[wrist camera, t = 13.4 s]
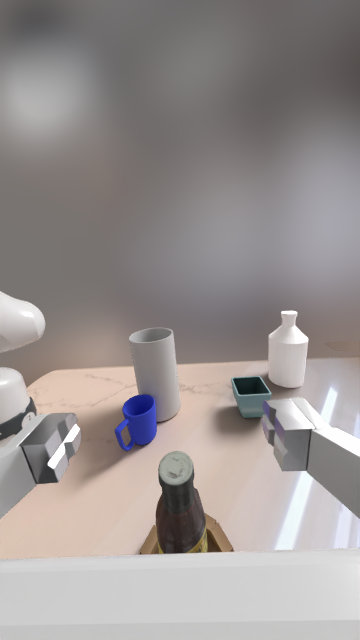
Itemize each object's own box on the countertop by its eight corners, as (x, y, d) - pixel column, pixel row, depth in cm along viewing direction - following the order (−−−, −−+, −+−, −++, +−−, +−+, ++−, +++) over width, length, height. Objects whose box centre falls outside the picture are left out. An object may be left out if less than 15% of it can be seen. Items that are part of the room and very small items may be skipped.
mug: (110, 455, 46) (102, 422, 43) (142, 420, 56) (137, 391, 53) (136, 470, 42) (129, 434, 39) (165, 429, 52) (161, 398, 50)
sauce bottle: (184, 640, 22) (164, 522, 17) (155, 576, 26) (133, 469, 21) (220, 580, 26) (213, 469, 21) (189, 534, 30) (177, 435, 25)
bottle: (269, 367, 77) (271, 308, 71) (303, 373, 71) (309, 308, 65) (265, 383, 67) (267, 316, 61) (305, 391, 61) (312, 317, 55)
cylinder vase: (183, 419, 55) (175, 339, 49) (140, 426, 54) (126, 345, 47) (178, 392, 67) (170, 325, 61) (143, 398, 66) (131, 330, 59)
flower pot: (231, 402, 60) (230, 377, 58) (259, 400, 59) (259, 375, 57) (238, 423, 51) (237, 395, 49) (271, 422, 51) (272, 394, 49)
